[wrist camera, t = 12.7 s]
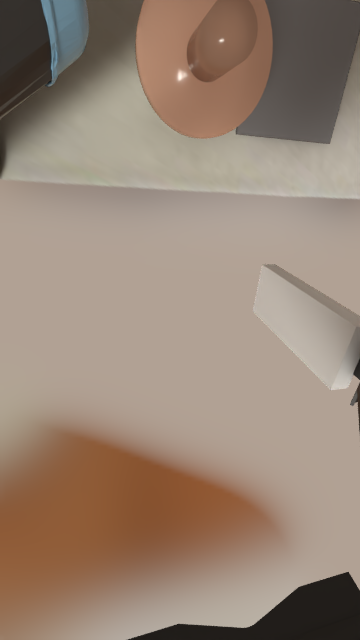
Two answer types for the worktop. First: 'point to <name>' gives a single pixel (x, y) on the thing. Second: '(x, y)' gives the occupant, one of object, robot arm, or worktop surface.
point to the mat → (305, 69)
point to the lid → (203, 62)
